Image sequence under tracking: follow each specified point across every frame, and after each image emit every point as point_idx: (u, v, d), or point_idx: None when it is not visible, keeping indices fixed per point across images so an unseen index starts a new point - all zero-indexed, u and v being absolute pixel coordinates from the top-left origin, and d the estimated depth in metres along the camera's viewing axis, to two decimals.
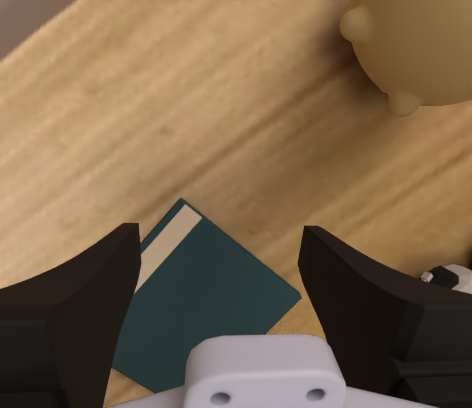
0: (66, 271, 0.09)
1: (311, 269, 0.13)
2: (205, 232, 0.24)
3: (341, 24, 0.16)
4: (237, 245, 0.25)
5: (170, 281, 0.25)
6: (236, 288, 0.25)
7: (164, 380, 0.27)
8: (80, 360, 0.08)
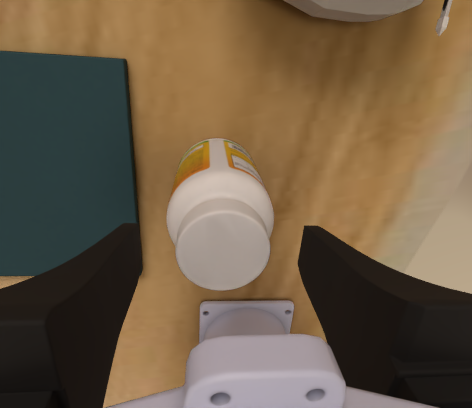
0: (65, 271, 0.09)
1: (311, 269, 0.13)
2: None
3: None
4: None
5: None
6: (40, 106, 0.18)
7: None
8: (80, 360, 0.08)
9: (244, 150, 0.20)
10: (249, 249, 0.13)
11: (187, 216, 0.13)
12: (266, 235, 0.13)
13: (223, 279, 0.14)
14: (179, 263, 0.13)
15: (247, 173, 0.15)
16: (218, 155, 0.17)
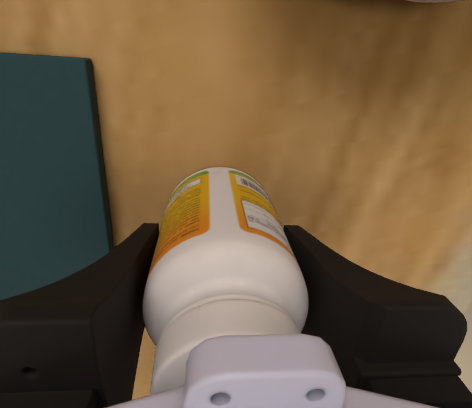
0: (96, 272, 0.09)
1: None
2: None
3: None
4: None
5: None
6: None
7: None
8: (115, 359, 0.08)
9: (257, 184, 0.15)
10: None
11: (171, 329, 0.08)
12: None
13: None
14: None
15: (268, 237, 0.10)
16: (222, 202, 0.11)
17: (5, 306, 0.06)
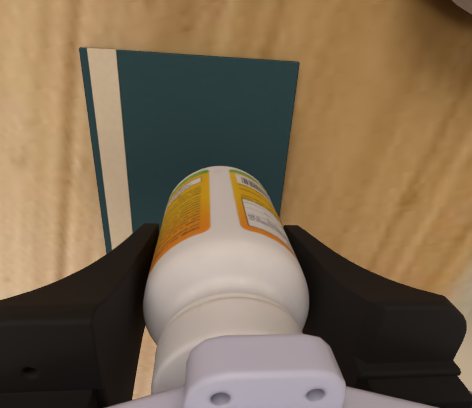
0: (97, 272, 0.09)
1: None
2: (135, 65, 0.19)
3: None
4: (179, 54, 0.19)
5: (148, 146, 0.21)
6: (218, 105, 0.20)
7: None
8: (115, 359, 0.08)
9: (257, 183, 0.15)
10: None
11: (172, 328, 0.08)
12: None
13: None
14: None
15: (269, 236, 0.10)
16: (222, 200, 0.11)
17: (6, 306, 0.06)
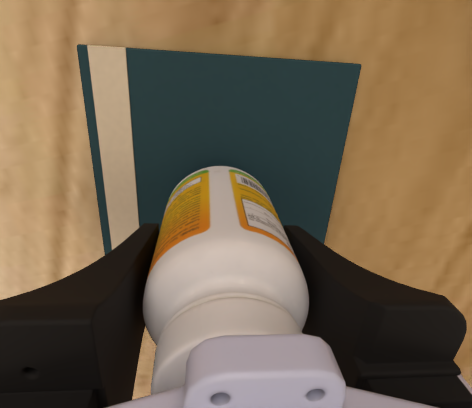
0: (97, 272, 0.09)
1: None
2: (150, 67, 0.14)
3: None
4: (208, 54, 0.14)
5: (165, 170, 0.16)
6: (254, 119, 0.16)
7: None
8: (115, 359, 0.08)
9: (257, 183, 0.15)
10: None
11: (171, 328, 0.08)
12: None
13: None
14: None
15: (269, 236, 0.10)
16: (222, 200, 0.11)
17: (5, 306, 0.06)
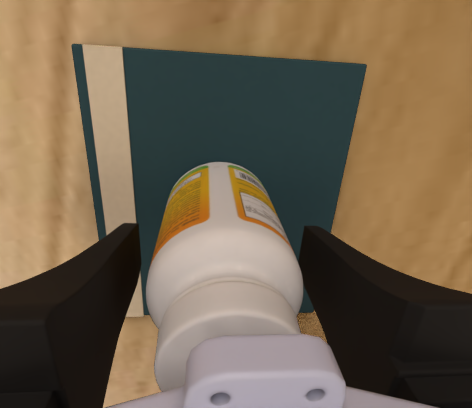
0: (66, 272, 0.09)
1: (311, 269, 0.13)
2: (148, 68, 0.14)
3: None
4: (208, 53, 0.14)
5: (164, 173, 0.16)
6: (256, 121, 0.15)
7: None
8: (80, 360, 0.08)
9: (255, 178, 0.15)
10: None
11: (173, 309, 0.08)
12: None
13: None
14: (160, 385, 0.08)
15: (265, 226, 0.10)
16: (221, 193, 0.12)
17: None
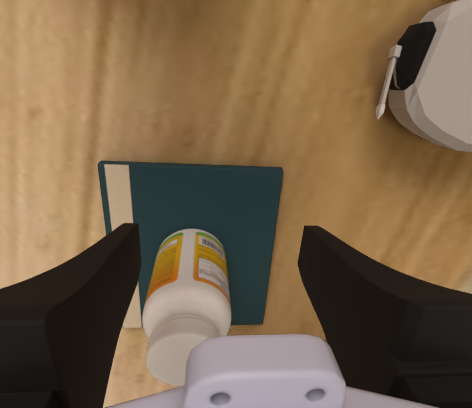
0: (66, 271, 0.09)
1: (311, 269, 0.13)
2: (144, 175, 0.22)
3: None
4: (182, 166, 0.22)
5: (155, 235, 0.24)
6: (214, 204, 0.23)
7: None
8: (80, 360, 0.08)
9: (213, 240, 0.23)
10: None
11: (155, 331, 0.16)
12: None
13: None
14: (148, 369, 0.16)
15: (208, 283, 0.19)
16: (186, 259, 0.20)
17: None
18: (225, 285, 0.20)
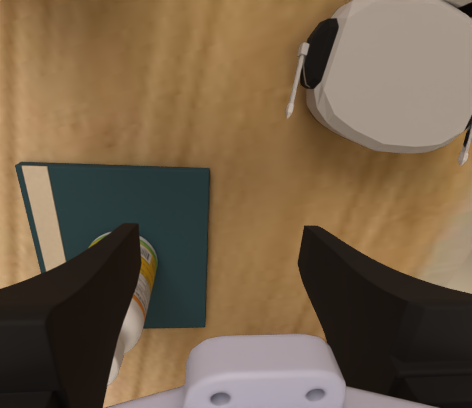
0: (65, 271, 0.09)
1: (311, 269, 0.13)
2: (65, 177, 0.22)
3: None
4: (103, 167, 0.22)
5: (83, 237, 0.24)
6: (141, 205, 0.23)
7: (161, 315, 0.28)
8: (80, 360, 0.08)
9: (140, 243, 0.23)
10: None
11: None
12: None
13: None
14: None
15: None
16: None
17: None
18: (140, 289, 0.20)
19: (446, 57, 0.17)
